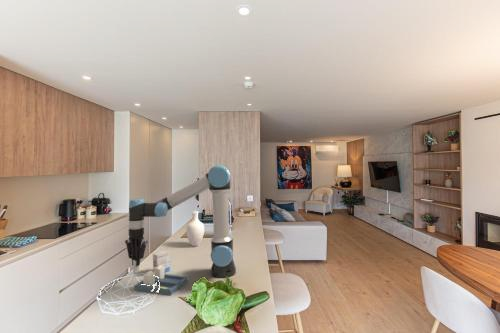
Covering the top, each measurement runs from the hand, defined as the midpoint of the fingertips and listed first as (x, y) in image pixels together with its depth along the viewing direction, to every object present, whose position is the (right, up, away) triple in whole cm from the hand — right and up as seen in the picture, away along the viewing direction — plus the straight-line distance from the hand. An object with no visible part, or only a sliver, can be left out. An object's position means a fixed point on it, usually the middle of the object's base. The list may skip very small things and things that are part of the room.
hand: (135, 271), depth 133 cm
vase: (+17, -9, +69) cm, 72 cm away
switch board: (+14, -8, 0) cm, 16 cm away
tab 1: (+8, -6, -2) cm, 10 cm away
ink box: (+8, -8, +18) cm, 21 cm away
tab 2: (+11, -6, +5) cm, 13 cm away
